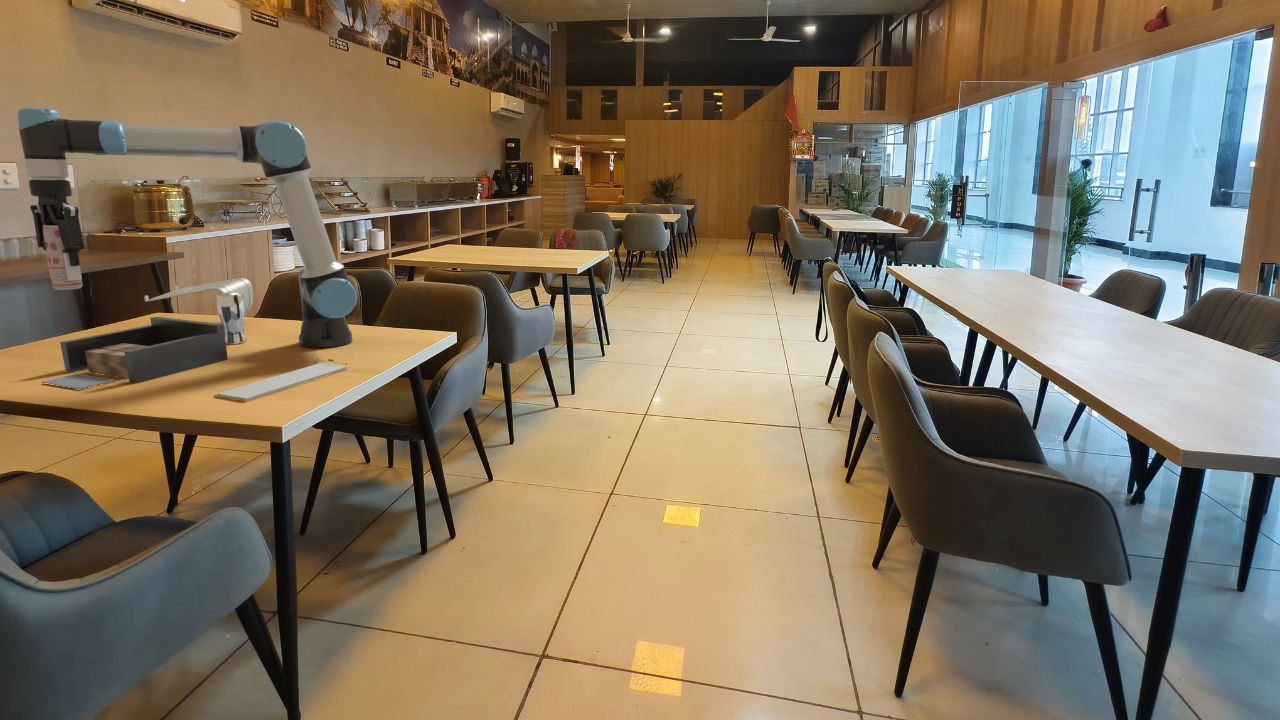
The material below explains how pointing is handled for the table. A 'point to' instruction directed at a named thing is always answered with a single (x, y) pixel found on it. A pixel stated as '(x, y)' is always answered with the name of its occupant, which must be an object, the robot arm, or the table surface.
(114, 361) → the offcut slab
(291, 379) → the baseboard molding
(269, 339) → the table surface
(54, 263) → the beverage can
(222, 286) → the portable electronic device stand
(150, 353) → the tray
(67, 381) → the mat
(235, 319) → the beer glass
